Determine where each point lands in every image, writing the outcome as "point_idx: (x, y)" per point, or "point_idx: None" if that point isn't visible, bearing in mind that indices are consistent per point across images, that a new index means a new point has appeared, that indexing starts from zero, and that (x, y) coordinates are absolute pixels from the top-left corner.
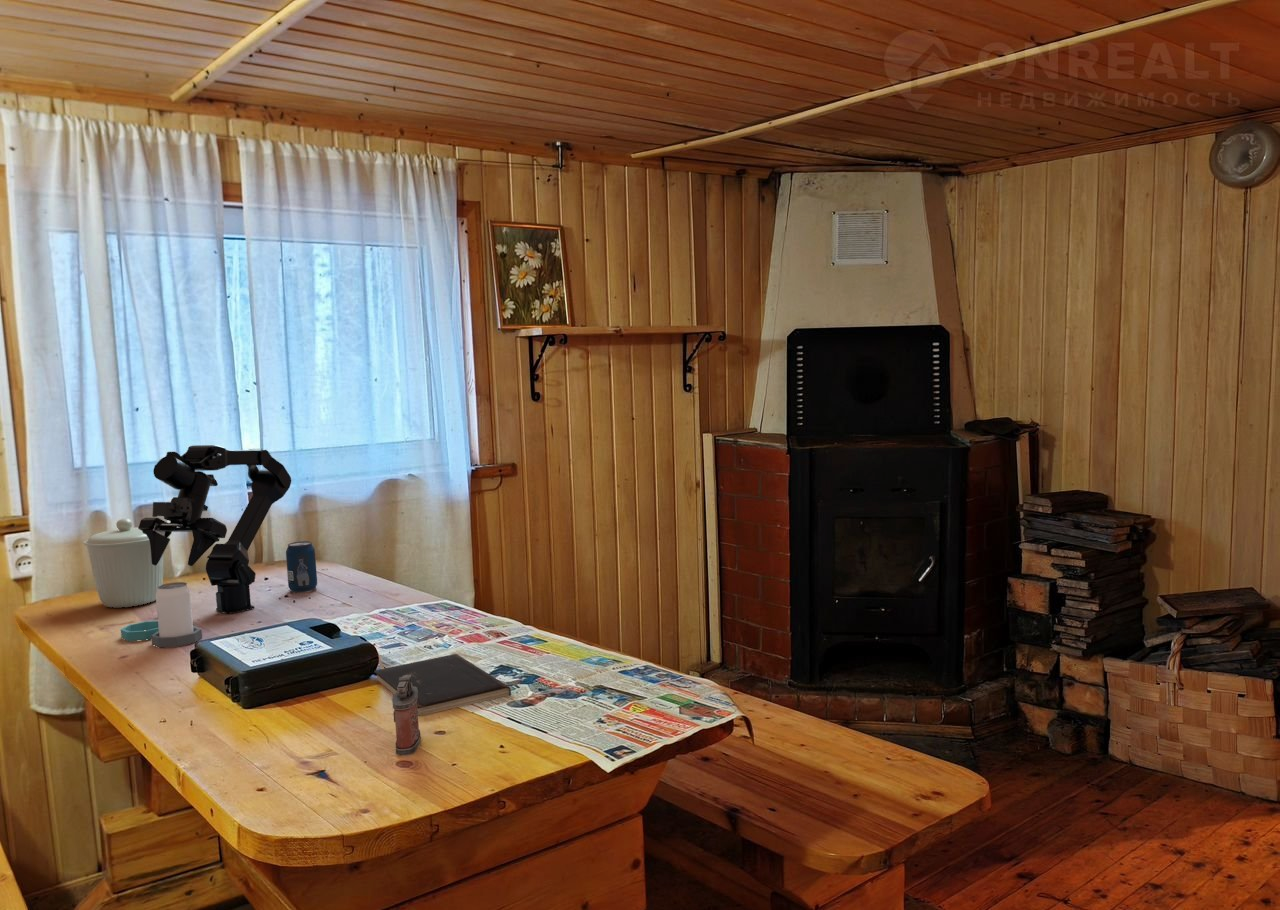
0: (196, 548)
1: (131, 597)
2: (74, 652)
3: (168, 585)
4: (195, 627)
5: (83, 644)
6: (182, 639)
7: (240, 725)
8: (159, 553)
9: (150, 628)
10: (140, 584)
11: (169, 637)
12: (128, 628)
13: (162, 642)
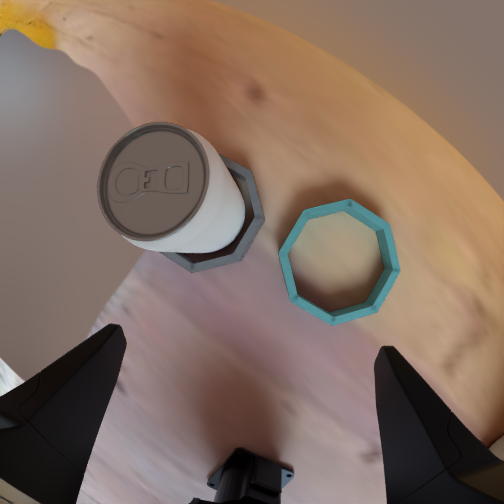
0: (36, 381)
1: (497, 451)
2: (401, 120)
3: (178, 191)
4: (175, 257)
5: (433, 178)
6: None
7: (7, 12)
8: (391, 430)
9: (357, 305)
10: None
11: None
12: (388, 254)
13: None
